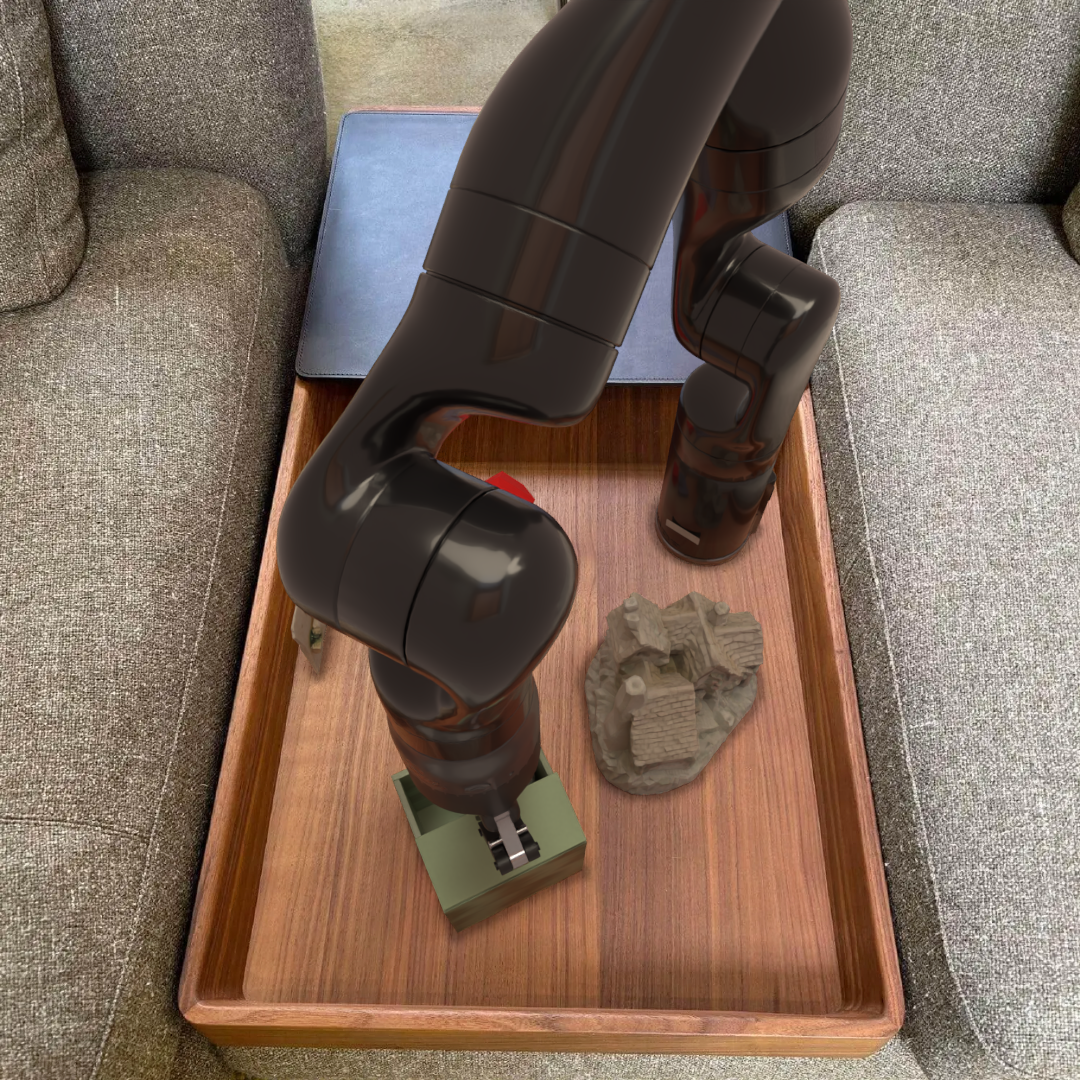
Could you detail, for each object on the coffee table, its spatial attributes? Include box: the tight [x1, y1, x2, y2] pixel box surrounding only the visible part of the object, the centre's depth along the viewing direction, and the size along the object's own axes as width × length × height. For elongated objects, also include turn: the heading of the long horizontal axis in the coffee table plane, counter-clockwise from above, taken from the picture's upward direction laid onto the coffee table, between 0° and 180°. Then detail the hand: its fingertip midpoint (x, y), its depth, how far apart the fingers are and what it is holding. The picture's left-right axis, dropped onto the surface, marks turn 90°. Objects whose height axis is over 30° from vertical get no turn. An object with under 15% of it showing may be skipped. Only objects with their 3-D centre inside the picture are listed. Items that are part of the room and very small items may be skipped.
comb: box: [290, 605, 328, 676], centre depth 80 cm, size 15×2×10 cm, turn 1°
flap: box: [414, 771, 588, 912], centre depth 62 cm, size 11×5×1 cm, turn 115°
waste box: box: [390, 747, 588, 934], centre depth 69 cm, size 11×10×10 cm
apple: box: [484, 470, 536, 504], centre depth 86 cm, size 7×7×8 cm
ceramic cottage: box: [583, 590, 765, 796], centre depth 73 cm, size 16×16×15 cm
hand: (487, 804), depth 60 cm, fingers closed
